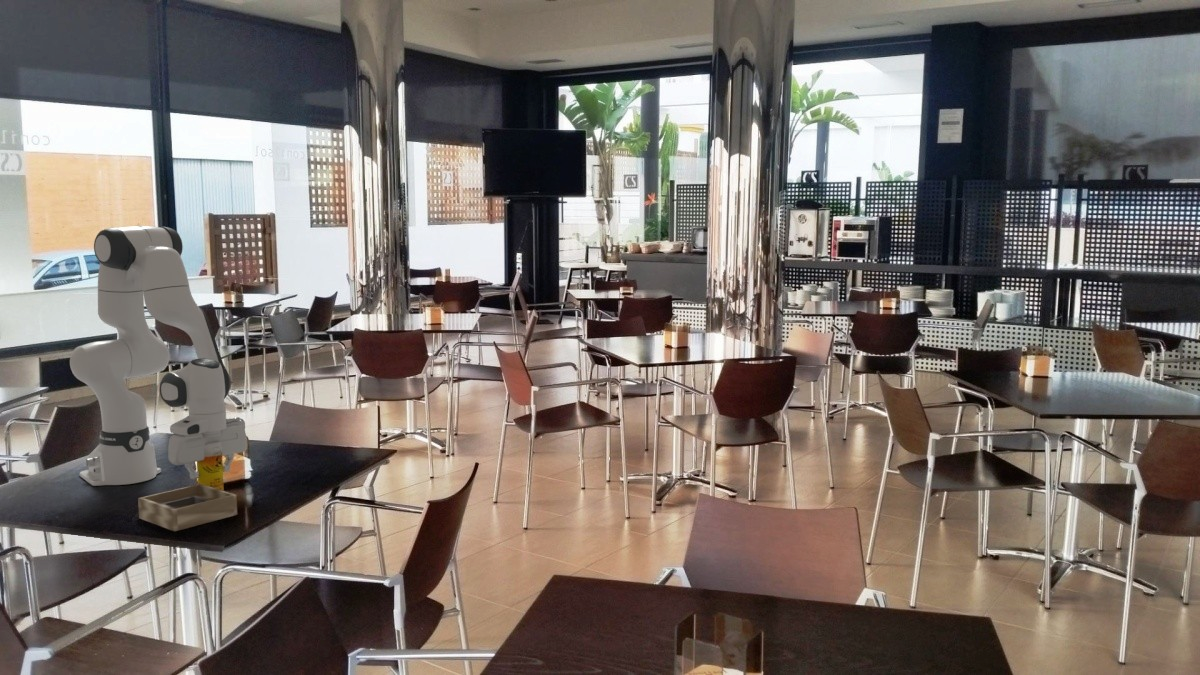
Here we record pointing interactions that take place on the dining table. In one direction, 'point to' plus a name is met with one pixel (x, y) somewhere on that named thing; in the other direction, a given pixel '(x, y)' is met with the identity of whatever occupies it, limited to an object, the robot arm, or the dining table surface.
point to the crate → (187, 507)
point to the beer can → (211, 466)
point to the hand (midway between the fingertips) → (210, 474)
